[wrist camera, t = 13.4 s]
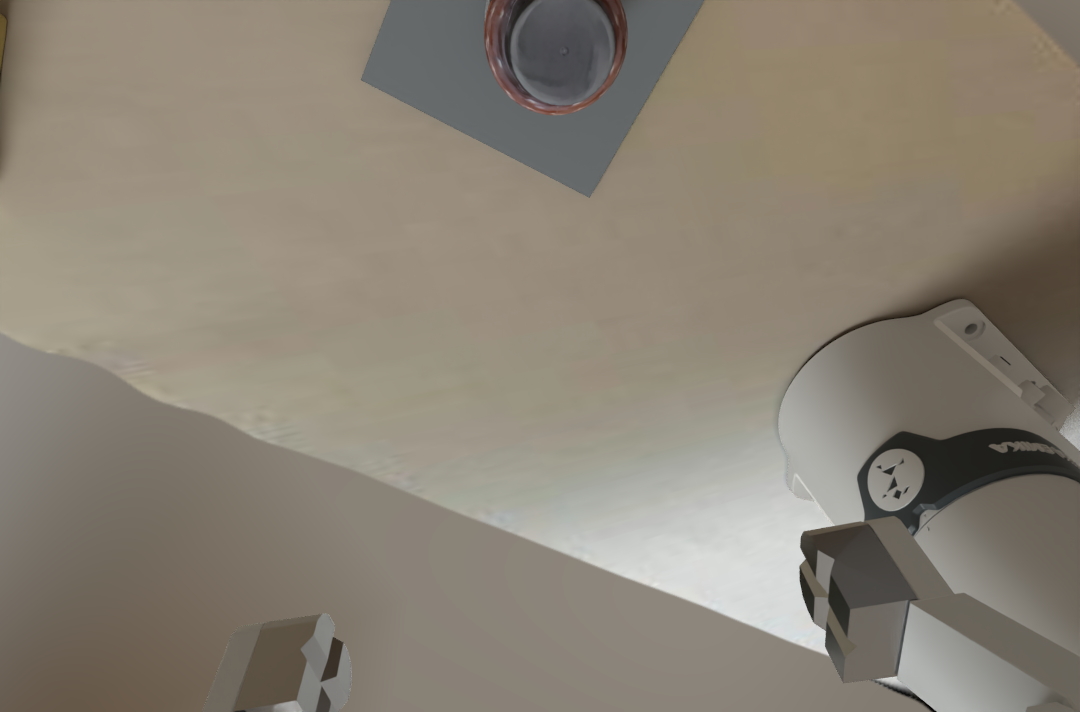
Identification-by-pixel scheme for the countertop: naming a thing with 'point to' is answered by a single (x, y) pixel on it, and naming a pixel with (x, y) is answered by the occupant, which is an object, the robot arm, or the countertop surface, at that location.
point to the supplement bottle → (555, 50)
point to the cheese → (2, 35)
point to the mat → (489, 113)
